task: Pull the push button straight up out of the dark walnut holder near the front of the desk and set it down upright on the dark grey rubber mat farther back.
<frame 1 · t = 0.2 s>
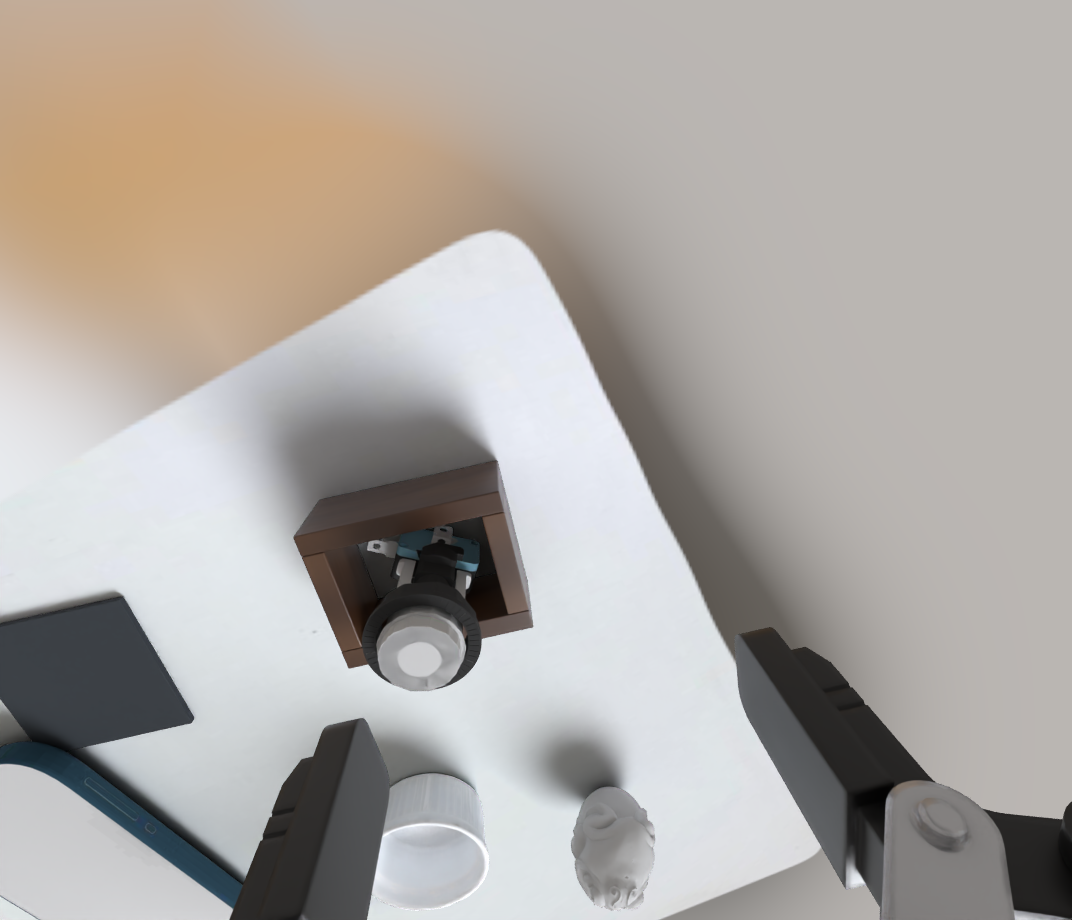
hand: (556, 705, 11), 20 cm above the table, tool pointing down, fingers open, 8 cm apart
frog figurine: (603, 794, 41), on the table
mat: (83, 677, 33), on the table
ramekin: (430, 805, 40), on the table
external hard drive: (113, 850, 39), on the table, touching mat
push button: (428, 541, 32), on the table
holder: (428, 542, 32), on the table
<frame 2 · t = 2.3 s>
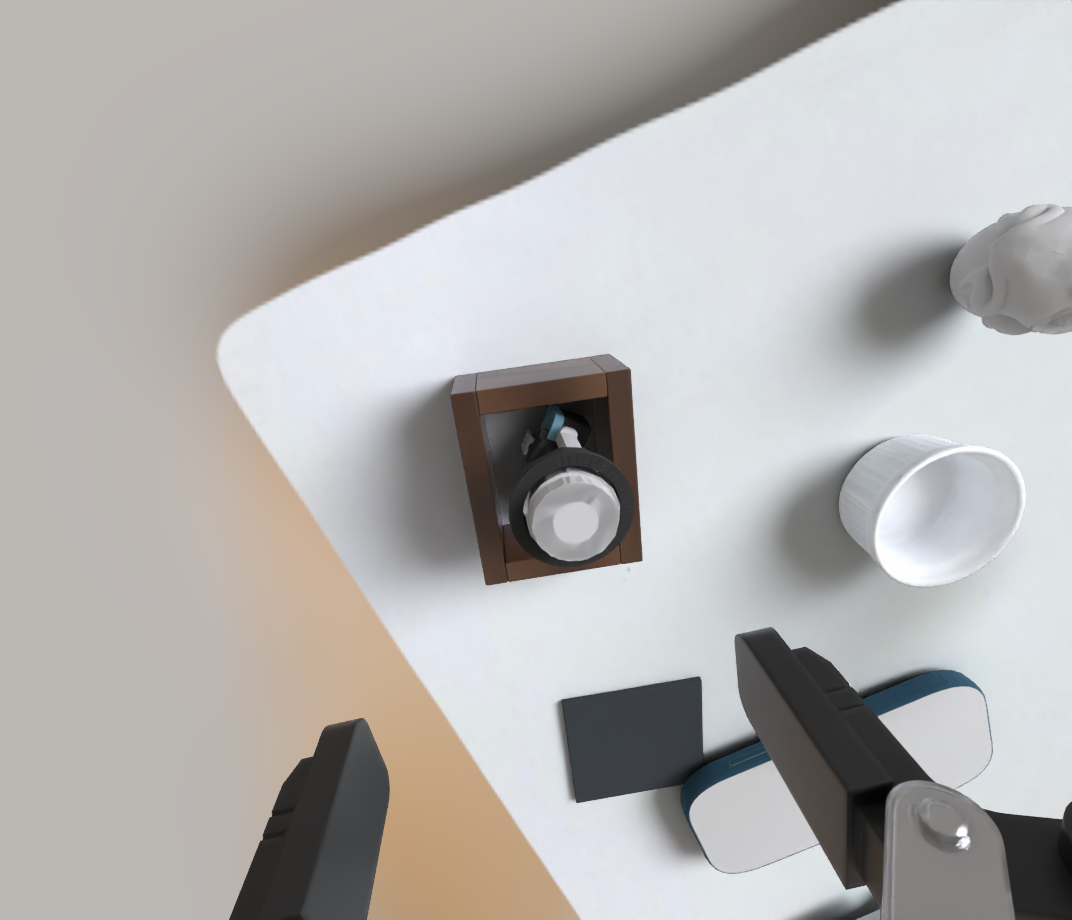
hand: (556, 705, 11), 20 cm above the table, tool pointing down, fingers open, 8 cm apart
frog figurine: (970, 270, 29), on the table
mat: (635, 739, 39), on the table
ramekin: (892, 489, 34), on the table
external hard drive: (824, 759, 42), on the table, touching mat
push button: (544, 453, 31), on the table
holder: (544, 454, 31), on the table
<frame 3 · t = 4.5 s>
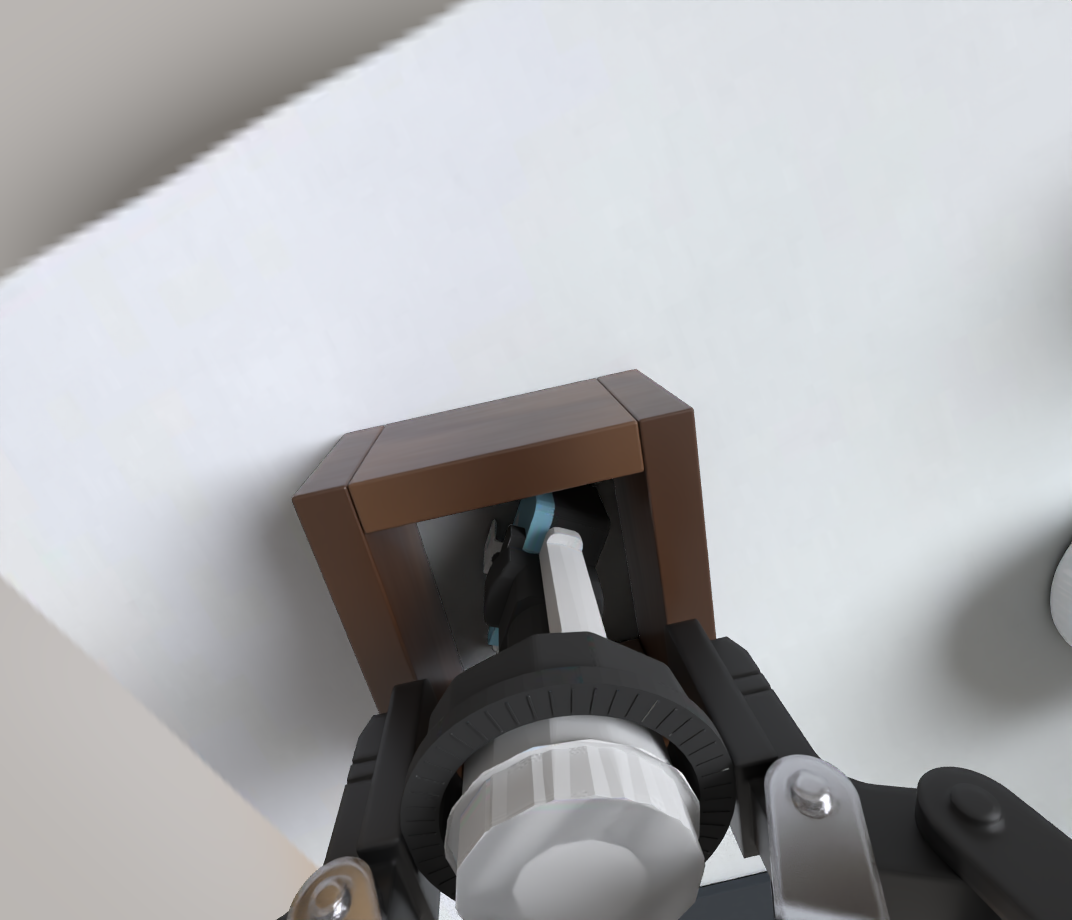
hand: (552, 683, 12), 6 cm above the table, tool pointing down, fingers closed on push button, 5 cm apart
push button: (528, 554, 17), on the table, touching gripper
holder: (528, 557, 17), on the table
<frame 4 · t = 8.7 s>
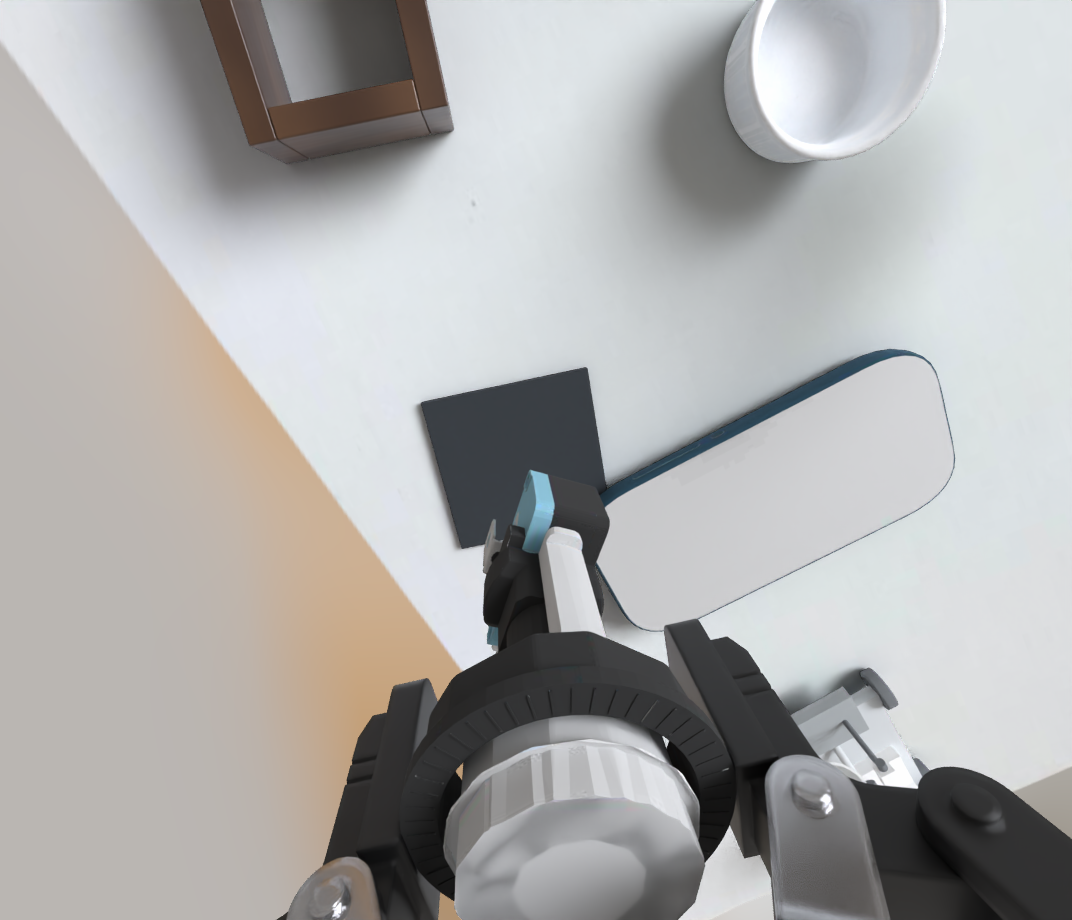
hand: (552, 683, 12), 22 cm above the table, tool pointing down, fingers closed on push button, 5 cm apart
mat: (520, 461, 33), on the table
ramekin: (793, 78, 27), on the table
external hard drive: (756, 489, 35), on the table, touching mat
toy car: (825, 740, 45), on the table
push button: (528, 553, 17), point 16 cm above the table, touching gripper
holder: (336, 19, 25), on the table
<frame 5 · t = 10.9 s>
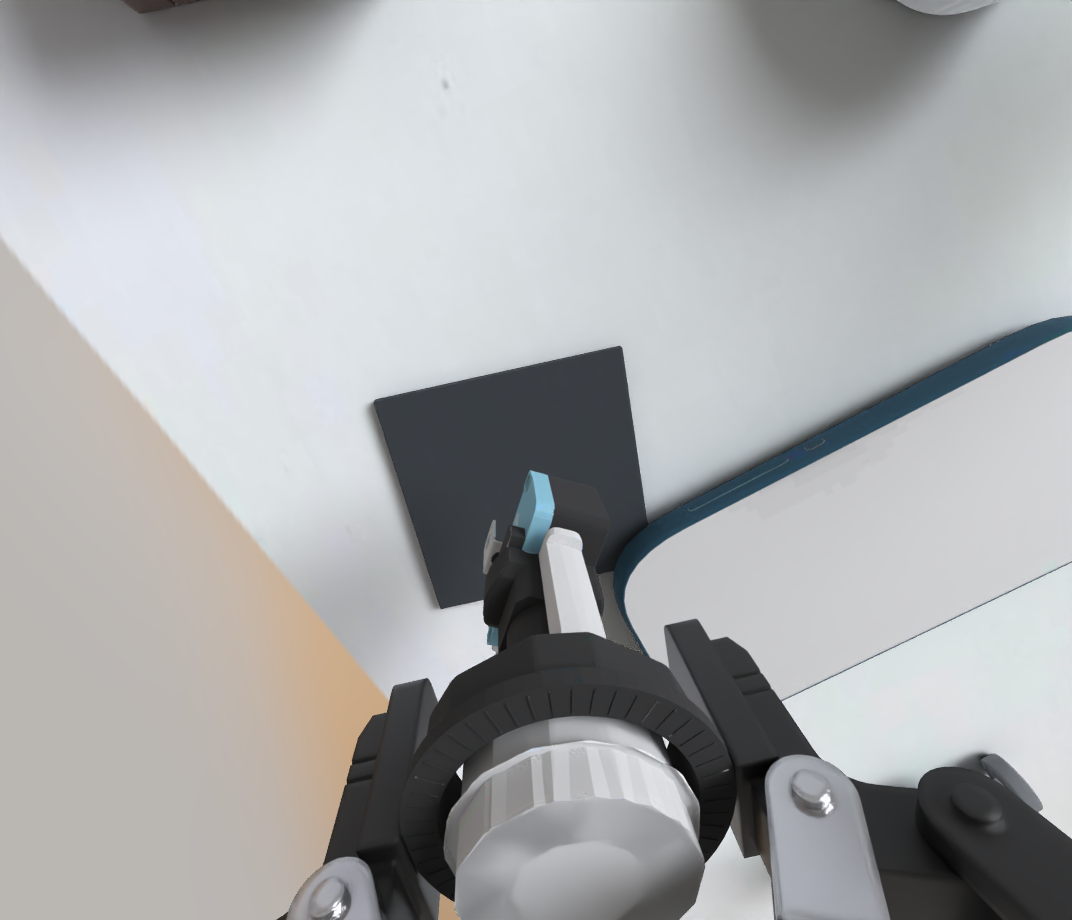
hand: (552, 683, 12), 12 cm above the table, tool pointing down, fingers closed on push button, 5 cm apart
mat: (523, 484, 23), on the table
external hard drive: (859, 520, 25), on the table, touching mat
toy car: (927, 841, 34), on the table
push button: (528, 554, 17), point 6 cm above the table, touching gripper
when the fingers open (6 cm above the table, at t = 12.8 s): push button stays where it is, resting on mat.
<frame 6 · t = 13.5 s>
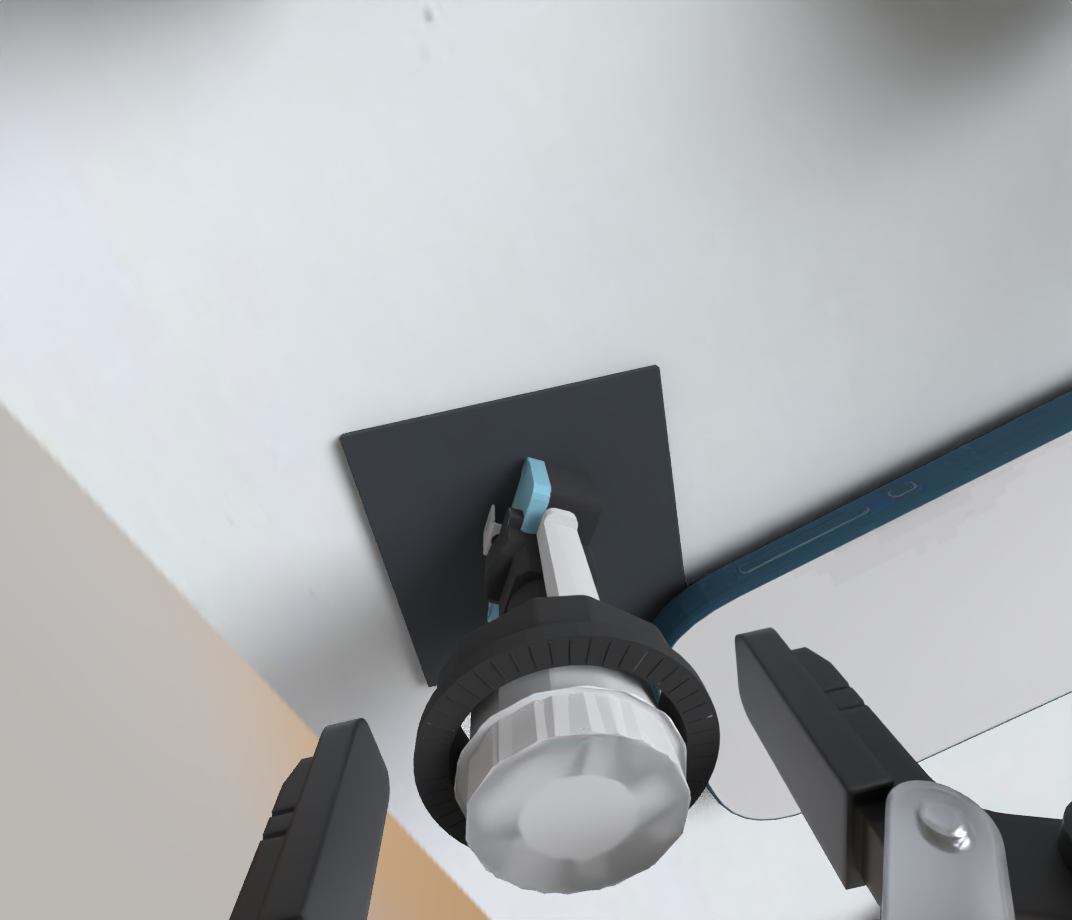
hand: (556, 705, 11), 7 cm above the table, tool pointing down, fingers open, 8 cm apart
mat: (531, 537, 18), on the table
external hard drive: (943, 576, 20), on the table, touching mat
push button: (525, 538, 18), resting on mat
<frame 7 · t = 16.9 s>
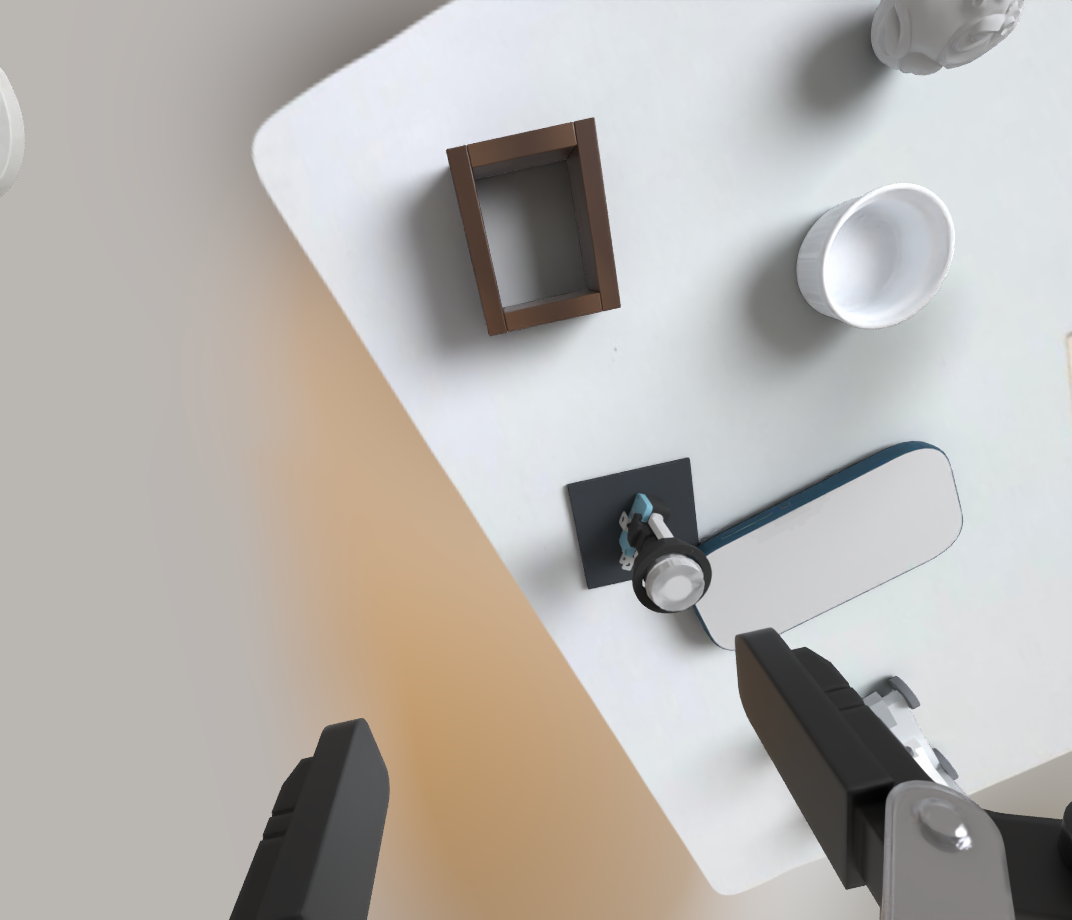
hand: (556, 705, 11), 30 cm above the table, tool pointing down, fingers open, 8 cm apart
frog figurine: (892, 37, 34), on the table
mat: (635, 524, 44), on the table
ramekin: (844, 260, 38), on the table
external hard drive: (810, 542, 46), on the table, touching mat
toy car: (860, 733, 55), on the table
push button: (634, 525, 44), resting on mat
holder: (532, 236, 36), on the table
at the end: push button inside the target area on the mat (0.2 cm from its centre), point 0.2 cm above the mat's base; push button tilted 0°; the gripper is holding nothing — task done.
